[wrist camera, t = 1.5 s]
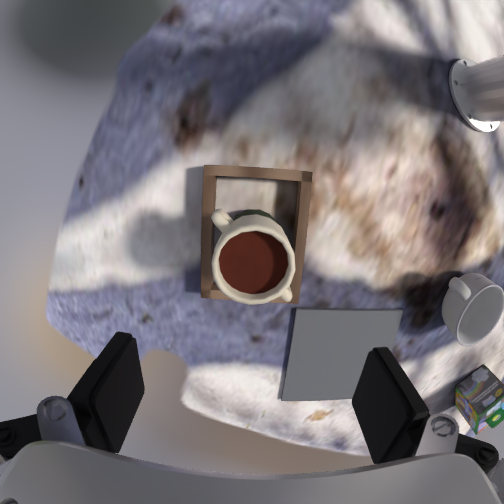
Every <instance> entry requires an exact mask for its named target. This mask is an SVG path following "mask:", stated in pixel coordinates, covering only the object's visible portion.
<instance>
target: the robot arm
mask: <svg viewBox="0 0 504 504" xmlns="http://www.w3.org/2000/svg"><path fill="white" fill-rule="evenodd" d="M449 86H450V91H451V95H452V98H453V101H454V103H455V105H456V107H457V109H458V111H459V113H460V114H461V116H462V117H463V118H464V120H465V121H466V122H467V123H468V124H469V125H470V126H471V127H472V128H474V129H476V130H477V131H480V132H492V131H493V130H495V129H496V128H497V127H498V125H499V123H500V121H504V55H501V56H498V57H495V58H492V59H489V60H486V61H483V62H481V63H476V62H474V61H472V60H469V59H461V60H458V61H456V62H455V63H454V64H453V65H452V66H451V69H450V72H449ZM143 394H144V382H143V377H142V372H141V366H140V361H139V355H138V349H137V342H136V339H135V338H133V337H132V335H131V334H130V333H124V332H116V333H115V335H114V336H113V337H112V339H111V340H110V341H109V343H108V344H107V345H106V347H105V348H104V349H103V351H102V352H101V353H100V355H99V356H98V357H97V359H95V360H94V361H93V362H92V364H91V365H90V366H89V368H88V369H87V370H86V372H85V374H84V375H83V376H82V378H81V379H80V380H79V382H78V383H77V384H76V386H75V387H74V389H73V390H72V392H71V393H70V394H69V396H68V397H67V399H66V398H63V397H61V396H50V397H47V398H45V399H44V400H42V401H41V402H40V403H39V405H38V407H37V414H34V415H30V416H26V417H22V418H18V419H13V420H9V421H3V422H0V504H504V459H503V458H502V459H501V460H499V454H498V451H497V450H496V448H495V447H494V446H493V445H491V444H489V443H486V442H483V441H480V440H477V439H474V438H471V437H468V436H465V435H463V434H460V433H459V426H458V423H457V422H456V420H455V419H454V418H452V417H451V416H449V415H447V414H442V413H440V414H434V415H432V416H430V414H429V409H428V408H427V406H426V405H425V403H424V401H423V400H422V398H421V397H420V395H419V393H418V392H417V390H416V389H415V387H414V386H413V384H412V383H411V381H410V380H409V378H408V377H407V375H406V374H405V372H404V371H403V369H402V368H401V366H400V365H399V363H398V362H397V360H396V359H395V357H394V356H393V354H392V353H391V351H390V350H389V348H388V347H375V348H373V349H372V351H369V353H368V355H367V358H366V361H365V364H364V367H363V370H362V373H361V376H360V378H359V381H358V384H357V387H356V389H355V392H354V395H353V397H352V405H353V408H354V411H355V414H356V416H357V419H358V422H359V424H360V427H361V430H362V433H363V435H364V438H365V441H366V444H367V446H368V449H369V452H370V455H371V458H372V460H373V463H374V464H375V465H370V466H364V467H358V468H351V469H344V470H336V471H329V472H328V471H327V472H316V473H302V474H274V475H273V474H269V475H268V474H236V473H222V472H211V471H202V470H194V469H187V468H180V467H174V466H168V465H163V464H158V463H153V462H149V461H144V460H139V459H135V458H131V457H126V456H122V455H118V454H115V453H119V451H120V449H121V447H122V444H123V442H124V440H125V437H126V434H127V432H128V430H129V427H130V425H131V423H132V420H133V418H134V416H135V413H136V411H137V409H138V406H139V404H140V401H141V399H142V397H143Z"/></svg>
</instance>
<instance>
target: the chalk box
mask: <svg viewBox="0 0 504 504" xmlns="http://www.w3.org/2000/svg"><path fill="white" fill-rule="evenodd" d="M455 405H456V407H457V409H458V410H459V411H460V413H461V414H462V416H463V417H464V418H465V420H466V421H467V423H468V424H469V425H470V427H471V428H472V430H473V431H474V432H475V434H476V435H477V434H478V433H480V432H481V431H482V430H483V429H485V428H486V427H487V426H490V427H491V428H494V427H496V426H497V425H498V424H499V423H500V422H502V421H503V420H504V384H503V383H502V382H501V381H500V380H499V379H498V378H497V377H496V376H495V375H494V374H493V373H492V372H491V371H490V370H489V369H488V368H487V367H486V366H485V365H484V364H483V365H482V366H481V367H480V368H479V369H477V370H476V371H475V372H473V373H472V374H471V375H469V376H468V377H467V378H465V379H464V380H463V381H461V382H460V383H458V384H457V385H456V386H455ZM500 415H501V417H500V419H499V420H497V421H495V422H494V420H496V419H497V418H498V417H499V416H500Z"/></svg>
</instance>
